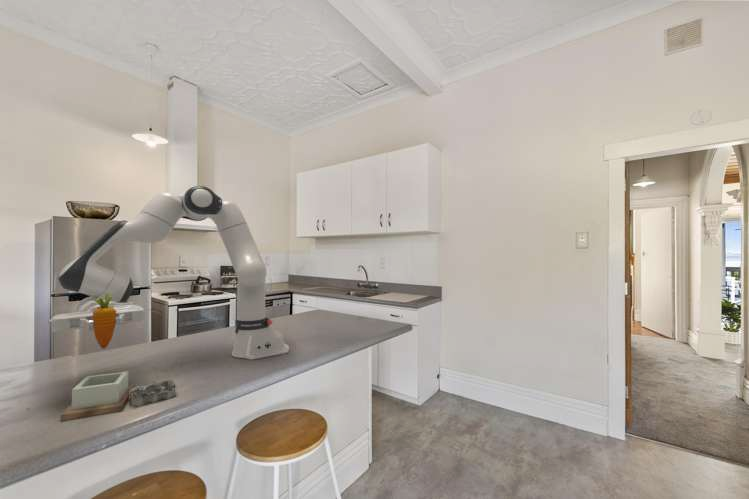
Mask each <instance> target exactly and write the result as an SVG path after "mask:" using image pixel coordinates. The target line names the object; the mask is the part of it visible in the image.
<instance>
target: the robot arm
mask: <svg viewBox="0 0 749 499" xmlns="http://www.w3.org/2000/svg"><path fill="white" fill-rule="evenodd" d="M208 218H209V219H210V220H212V221H213V223H214V224H215V225H216V228H217V230H218V233H219V236H220V237H221V240H222V242H223V245H224V247H225V249H226V252H227V255H228V257H229V260H230V262H231V264H232V267H233V269H234V273H235V276H236V277H237V287H236V288H237V292H236V293H237V294H236V319H235V321H234V333H235V337H234V344H233V347H232V350H231V351H232V352H231V356H232V357H234V358H239V359H245V360H256V359H257V360H258V359H261V358H262V359H263V358H267V357H268V358H269V357H274V356H278V355H284V354H287V353H289V352H290V347H289V345H288V344H287V343H285V342H284V337H283V335H282V333H281V332H280V331H278V330H276V329H275V328H274V327H272V326H271V325H273V320H272V319H271V318H269V317H266V277H267V267H266V265H265V263H264V260H263V258H262V256H261V253H260V251H259V249H258V246H257V244H256V242H255V239H254V237H253V235H252V232H251V230H250V228H249V225H248V223H247V221H246V219H245V217H244V214H243V213H242V211H241V209H240V207H239V206H238V205H237V204H236V202H234V200H233V201H232V200H223V199H222V198H221V197H220V196H219V195H218V194H216V193H215V192H214V191H213V190H212V189H211V188H209V187H207V186H205V185H195V186H192V187H190V188H189V189H187V190H186V191H185V193H184V195H182V196H179V195H176V194H175V193H171V192H168V191H160V192H158V193H157V194H155V195H154V196H153V197H152V198H151V199H150V200H149V201H148V202H147V203H146V205H144V207H143V208H142V210H141V211H140V212H139V213H138V214H137V215H136V216H135V217H134V218H132V219H129V220H121V221H118V222H117V223H115V224H114V225H112V226H111V228H109V229H108V230H107V231H106V232H105V233H104V234H102V235H101V236H100V237H99V238H98V239H97V240H95V242H93V243H92V244H91V245H90V246H89V247H88V248H86V250H84V251H83V253H82V254H80V255H79V256H78V257H77V258H75V259H74V260H72V261H71V262H69V263H68V264H67V265H66V266H64V267H63V268H62V270H61V271H60V273H59V276H58V277H57V280H58V281H59V284H60V285H61V287H62V288H63V289H64V290H67V291H71V292H73V293H79V294H82V295H83V294H84V295H85V296H88V297H85V298H83V299H82V300H80V301H79V302H78V303H77V304H76V306H75V309H74V312H69V313H61V314H60V313H59V314H55V315H54V316H53V317H52V318H51V319H49V320H48V323H49V324H51V331H52V332H65V331H72V330H79V329H86V330H88V331H93V332H94V328H93V327H94V320H93V311H94V310H95V309H97V308H101V306H100V305H99V304H98V303H97V302H96V301H94V299H95V298H96V299H98V300H99V297H101V298H102V299H103V301H106V299H105V297H106V294H110V297H111V300H110V301H109V305H108V307H112V308H114V309H115V310H116V321H115V326H119V325H124V324H129V323H136V322H143V321H144V320H145V316H146V314H145V313H146V312H145V308H143V307H142V306H140V305H138V304H135V303H134V302H133V301H128V300H129V298H130V297H131V295H132V293H133V291H134V283H133V280H132V278H131V277H130V276H129V275H125V274H123V273H121V272H118V271H115V270H112V269H111V268H107V267H104V266H102V265H100V264H98V263H97V261H98V260H99V258H100V257H101V258H102V256H103V255H104V254H105V253H106V252H107V251H108V250H110V248H111V247H113V246H114V245H115V244H116V243H119V242H124V241H125V242H126V241H130V242H139V243H145V244H154V243H159V242H162V241H164V240H165V239H166V238H167V237H168V236H169V234H170V233H171V232H172V230H173V229H174V228H175V226H176V225H177V223H178V222H179V221H180V220H181V219H185V220H190V221H193V222H194V221H195V222H201V221H204V220H206V219H208ZM99 301H100V300H99Z"/></svg>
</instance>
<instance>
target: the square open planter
mask: <svg viewBox="0 0 749 499" xmlns="http://www.w3.org/2000/svg"><path fill="white" fill-rule="evenodd" d="M128 386H129V371H128V370H127V371H120V372H113V373H112V372H111V373H103V374H96V375H95V374H94V375H88V376H85V377H84V378H83V379H82V380H81V381H80V382H79V383H78V384H77V385H75V387H74V388H72V390H71V404H72V410H73V409H80V408H86V407H93V406H99V405H105V404H112V403H118V402H119V401H120V399H121V398H122V397H123V395H124V394H125V392H126V391H127V389H128Z"/></svg>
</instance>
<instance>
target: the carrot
mask: <svg viewBox="0 0 749 499" xmlns="http://www.w3.org/2000/svg"><path fill="white" fill-rule="evenodd" d="M105 299H106V301H103V299H102V298H101V297H99V300H100V301H99V300H98V299H96V298H95V299H94V301H96V302H97V303H98V304H99V305H100V306H101V308H97V309H95V310H94V311H93V320H94V327H93V328H94V331H93V333H94V337H95V339H96V342H97V344H98V345H99V347H100V348H101V349H103V350H105V349H107V347H108V346H109V344H110V342H111V341H112V338H113V336H114V332H115V327H116V325H115V321H116V310H115V309H114V308H112V307H108V305H109V301H110V300H111V297H110V294H106V297H105Z"/></svg>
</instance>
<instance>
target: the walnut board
mask: <svg viewBox="0 0 749 499" xmlns="http://www.w3.org/2000/svg"><path fill="white" fill-rule="evenodd" d="M134 387H136V384H130V385H129V384H128V389H127V391H126V392H125V394H124V395H123V397H122V398H121V399H120V401H119V402H118V403H112V404H105V405H99V406H93V407H86V408H80V409H73V410H72V403H70V405H69V406H68V407H66V409H65V410H64V411H63V412H62V413H61V414H60V422H65V421H70V420H75V419H76V420H77V419H83V418H84V419H85V418H89V417H95V416H101V415H107V414H112V413H118V412H119V413H120V412H123V410H124V408H125V407H126V406H127V404H128V402H130V398H129V397H130V394H129V393H130V392H129V391H130V390H131V389H133V388H134Z"/></svg>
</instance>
